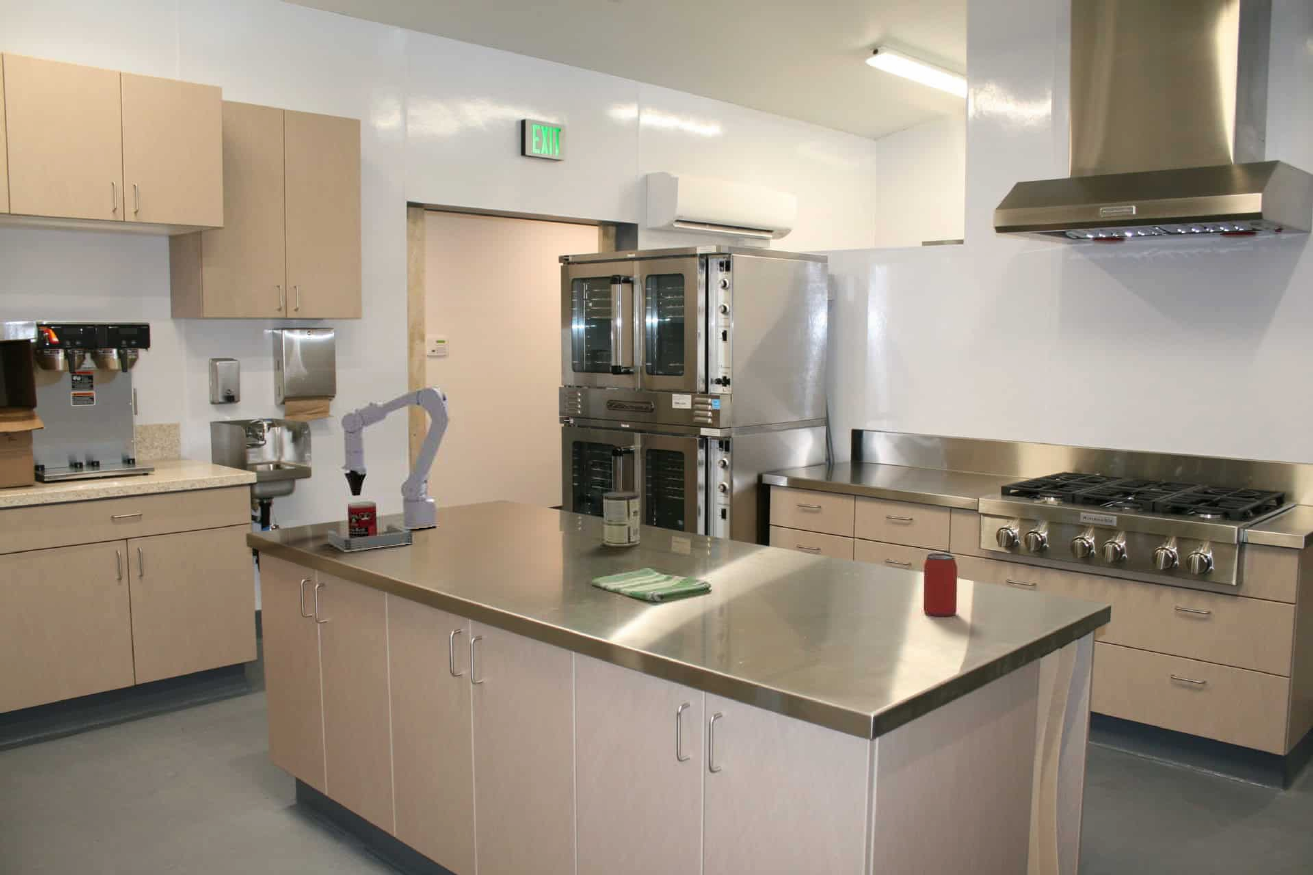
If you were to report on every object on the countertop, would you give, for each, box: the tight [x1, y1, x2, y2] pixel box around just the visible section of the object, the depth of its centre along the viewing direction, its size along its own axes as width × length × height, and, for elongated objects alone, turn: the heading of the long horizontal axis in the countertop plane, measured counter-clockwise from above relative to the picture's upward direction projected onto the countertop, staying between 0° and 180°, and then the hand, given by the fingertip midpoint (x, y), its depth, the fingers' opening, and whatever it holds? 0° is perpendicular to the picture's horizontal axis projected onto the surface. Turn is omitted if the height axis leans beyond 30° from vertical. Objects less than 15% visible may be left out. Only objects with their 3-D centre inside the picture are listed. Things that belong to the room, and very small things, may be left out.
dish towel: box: [590, 567, 713, 603], centre depth 232 cm, size 18×23×3 cm
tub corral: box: [326, 523, 413, 550], centre depth 288 cm, size 19×16×4 cm
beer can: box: [923, 552, 958, 618], centre depth 208 cm, size 7×7×12 cm
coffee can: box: [602, 490, 641, 547], centre depth 285 cm, size 10×10×14 cm
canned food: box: [347, 501, 378, 539], centre depth 292 cm, size 8×8×11 cm
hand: (356, 495), depth 312 cm, fingers closed
